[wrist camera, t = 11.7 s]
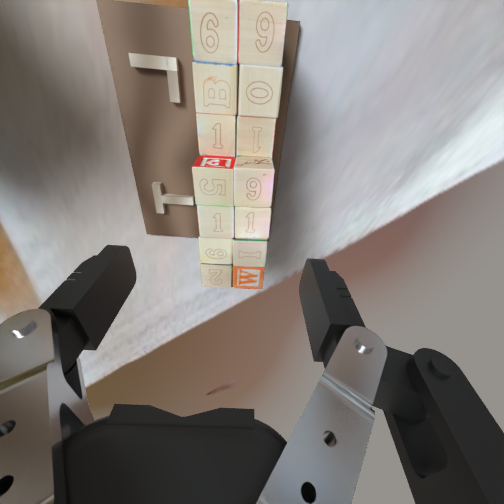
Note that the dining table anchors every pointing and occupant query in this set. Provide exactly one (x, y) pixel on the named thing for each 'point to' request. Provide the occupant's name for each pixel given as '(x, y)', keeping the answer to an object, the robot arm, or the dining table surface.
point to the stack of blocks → (235, 133)
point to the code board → (168, 107)
